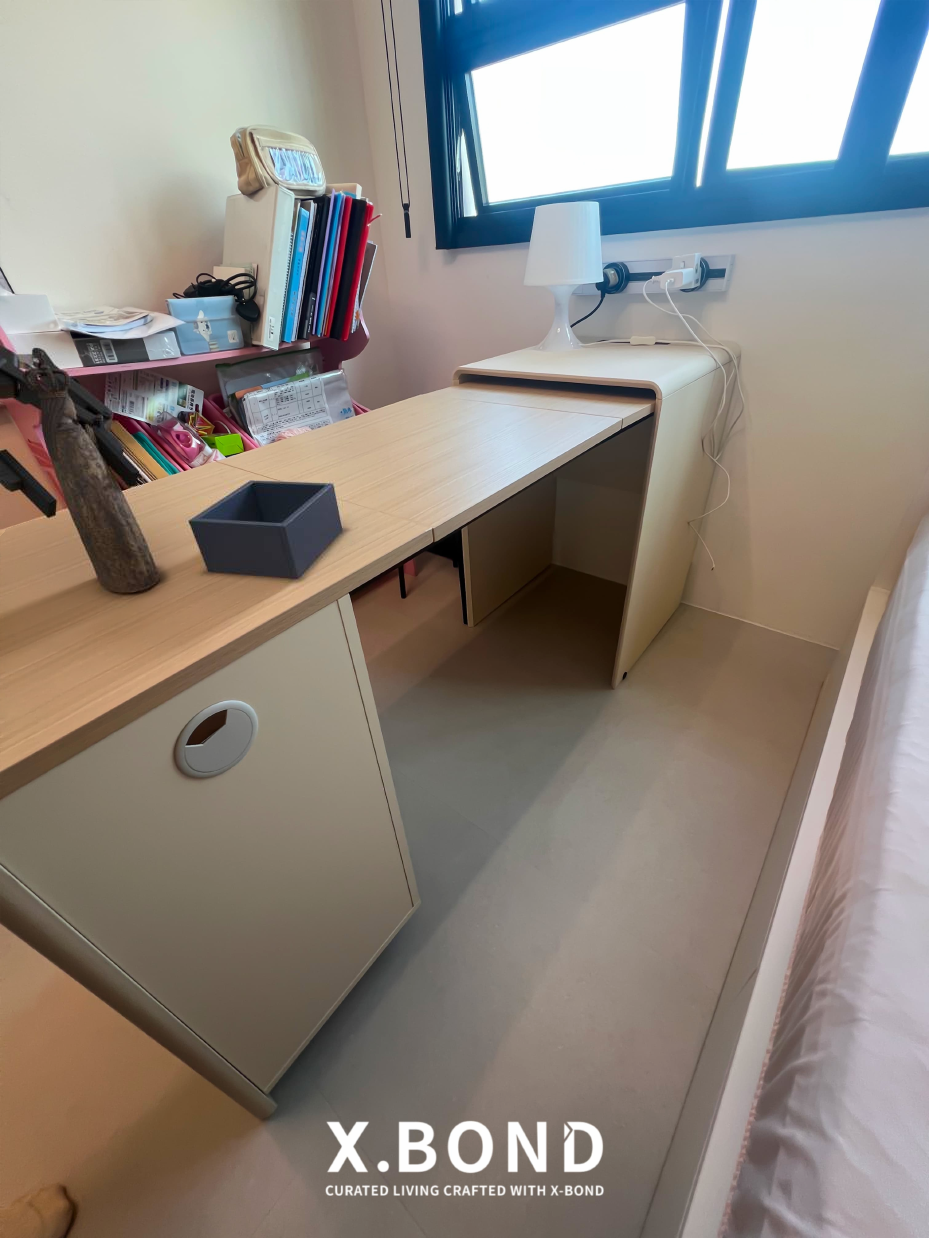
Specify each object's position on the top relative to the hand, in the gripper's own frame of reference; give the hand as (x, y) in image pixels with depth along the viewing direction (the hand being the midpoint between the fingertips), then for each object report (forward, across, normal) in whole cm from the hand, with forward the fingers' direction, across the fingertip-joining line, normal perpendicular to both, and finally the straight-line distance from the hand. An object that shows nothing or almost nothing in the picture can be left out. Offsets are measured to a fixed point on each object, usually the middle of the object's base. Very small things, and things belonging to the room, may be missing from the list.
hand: (95, 493), depth 54 cm
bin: (+14, -14, -3) cm, 21 cm away
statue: (+6, -1, -11) cm, 13 cm away
